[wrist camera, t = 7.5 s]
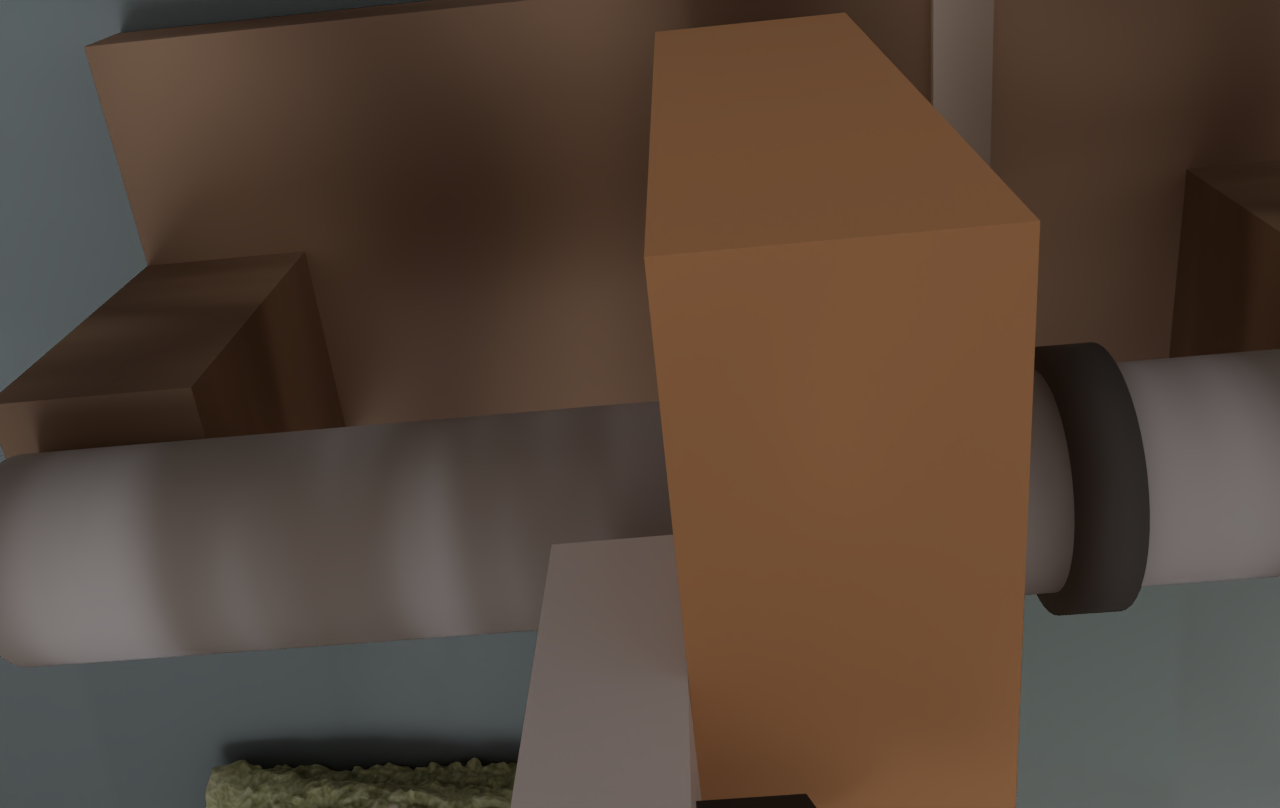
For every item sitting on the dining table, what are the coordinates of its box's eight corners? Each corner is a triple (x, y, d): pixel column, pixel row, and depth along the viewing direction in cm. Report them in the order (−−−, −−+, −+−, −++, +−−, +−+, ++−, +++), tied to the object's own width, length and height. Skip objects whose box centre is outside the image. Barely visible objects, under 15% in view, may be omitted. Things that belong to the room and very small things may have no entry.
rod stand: (270, 578, 27) (69, 964, 18) (119, 33, 22) (-269, 184, 13) (1267, 502, 26) (1599, 877, 17) (1351, -97, 21) (1896, -31, 12)
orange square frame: (708, 605, 24) (738, 1159, 14) (655, 32, 19) (643, 257, 9) (861, 594, 24) (1001, 1147, 14) (845, 12, 19) (1040, 222, 9)
